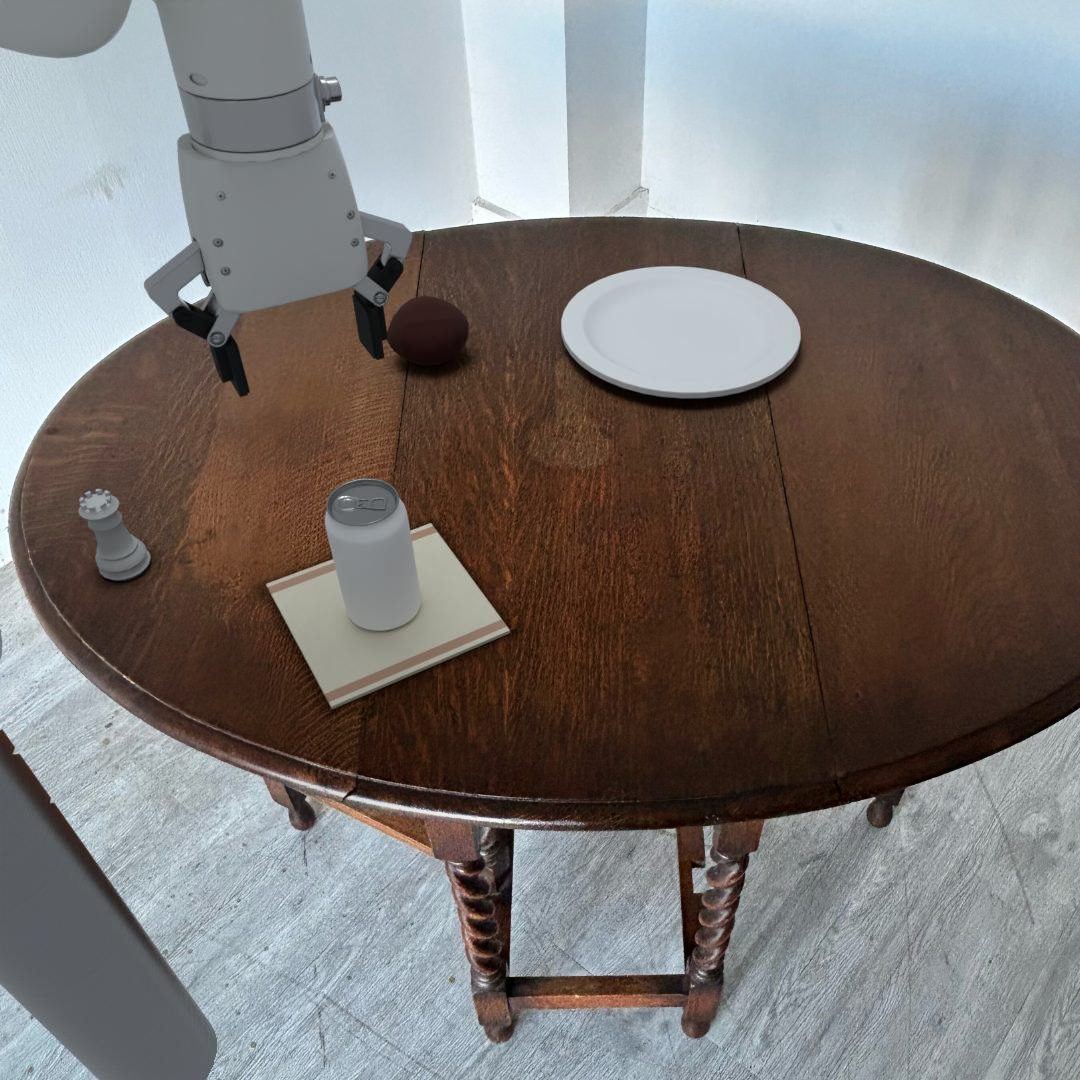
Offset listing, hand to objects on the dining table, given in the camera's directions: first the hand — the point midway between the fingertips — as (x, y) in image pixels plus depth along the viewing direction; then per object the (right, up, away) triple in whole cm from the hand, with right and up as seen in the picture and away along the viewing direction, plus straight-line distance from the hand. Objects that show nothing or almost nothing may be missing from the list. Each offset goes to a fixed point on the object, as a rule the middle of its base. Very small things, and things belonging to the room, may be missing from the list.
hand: (307, 367), depth 69 cm
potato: (+1, +11, +44) cm, 46 cm away
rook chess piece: (-22, -13, +20) cm, 33 cm away
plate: (+30, +14, +48) cm, 58 cm away
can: (+2, -17, +17) cm, 24 cm away
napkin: (+2, -17, +17) cm, 24 cm away
